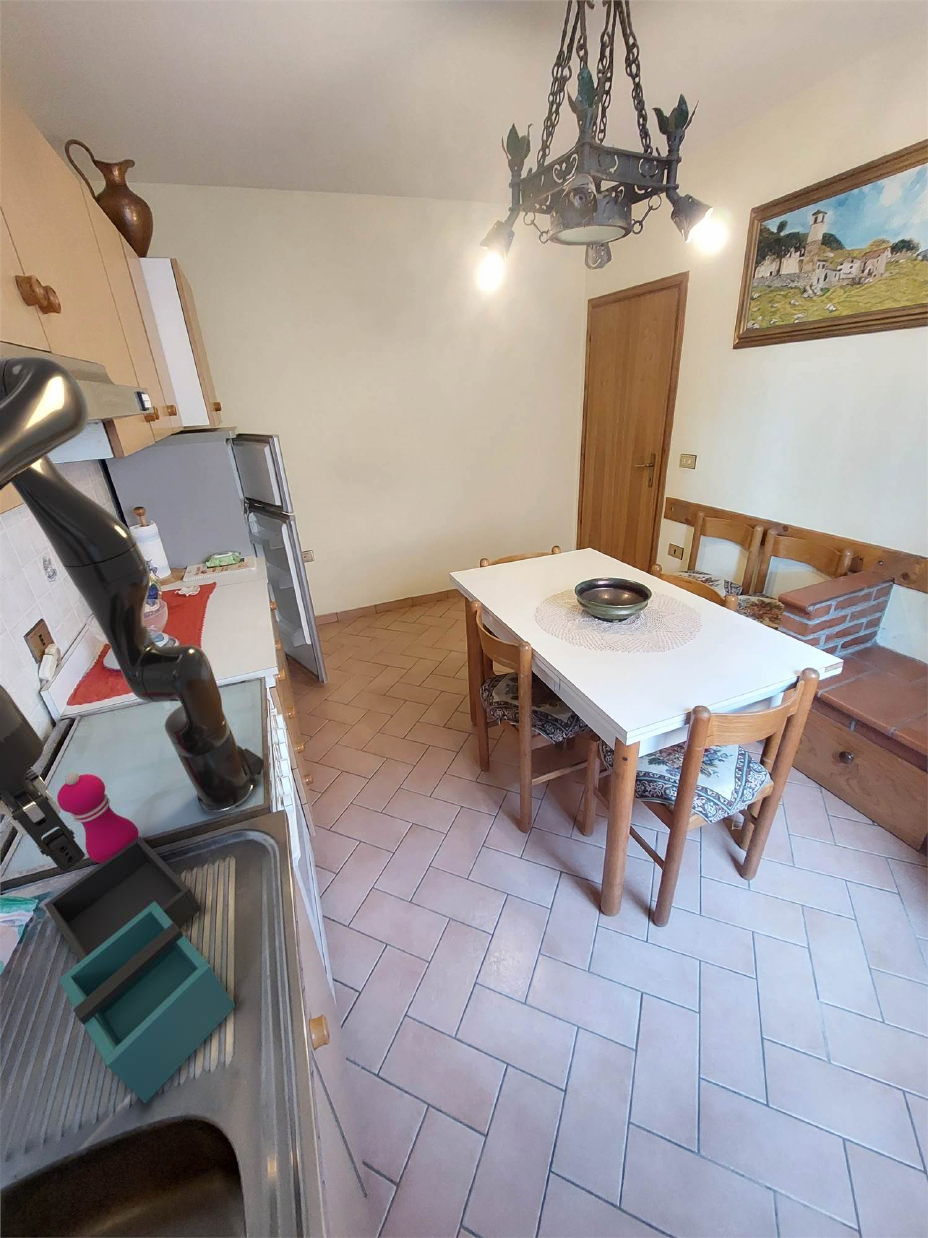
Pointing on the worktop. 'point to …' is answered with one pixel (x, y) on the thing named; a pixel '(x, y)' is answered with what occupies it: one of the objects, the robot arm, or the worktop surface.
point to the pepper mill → (95, 816)
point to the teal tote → (146, 1000)
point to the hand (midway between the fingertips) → (58, 843)
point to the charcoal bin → (119, 897)
